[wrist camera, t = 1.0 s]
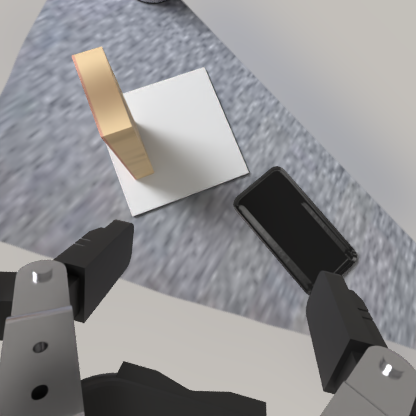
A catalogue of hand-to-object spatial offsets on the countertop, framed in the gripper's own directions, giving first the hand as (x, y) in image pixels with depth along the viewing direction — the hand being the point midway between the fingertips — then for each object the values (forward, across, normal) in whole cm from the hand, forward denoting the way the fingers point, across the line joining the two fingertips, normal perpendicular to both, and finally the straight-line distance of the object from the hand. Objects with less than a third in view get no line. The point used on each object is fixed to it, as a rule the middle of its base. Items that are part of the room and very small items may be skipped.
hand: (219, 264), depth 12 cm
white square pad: (+24, +9, 0) cm, 26 cm away
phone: (+23, -8, +7) cm, 25 cm away
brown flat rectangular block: (+22, +13, +2) cm, 26 cm away
